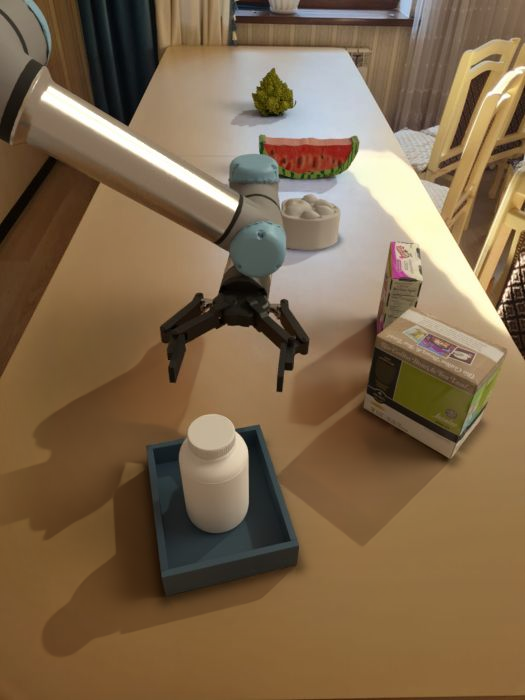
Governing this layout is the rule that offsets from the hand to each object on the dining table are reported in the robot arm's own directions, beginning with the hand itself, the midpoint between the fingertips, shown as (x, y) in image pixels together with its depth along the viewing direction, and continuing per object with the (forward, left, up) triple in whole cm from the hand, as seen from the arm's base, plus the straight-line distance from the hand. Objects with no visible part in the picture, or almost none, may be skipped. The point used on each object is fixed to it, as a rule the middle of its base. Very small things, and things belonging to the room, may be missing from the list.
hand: (225, 380), depth 67 cm
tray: (+9, -3, -14) cm, 17 cm away
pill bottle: (+9, -3, -13) cm, 17 cm away
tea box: (0, +30, -15) cm, 33 cm away
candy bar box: (-18, +33, -15) cm, 40 cm away
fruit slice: (-88, +40, -14) cm, 98 cm away
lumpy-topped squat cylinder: (-55, +30, -14) cm, 64 cm away
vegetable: (-140, +44, -15) cm, 147 cm away
